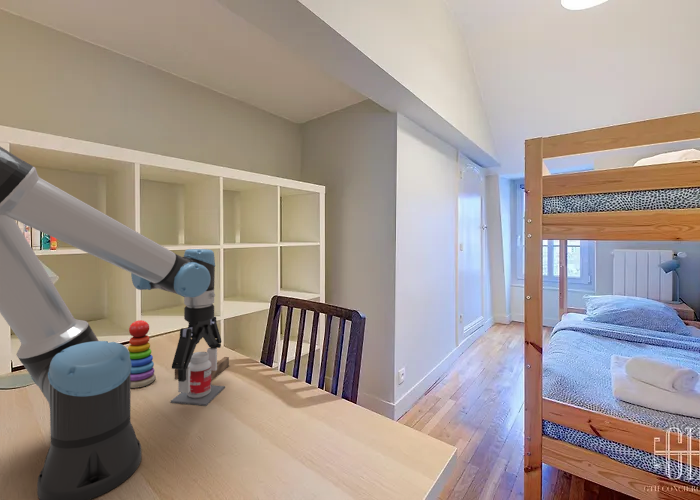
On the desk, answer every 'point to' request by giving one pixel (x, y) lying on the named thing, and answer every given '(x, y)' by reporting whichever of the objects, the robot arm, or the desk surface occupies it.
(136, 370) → the stacking toy
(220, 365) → the pair of wooden rails
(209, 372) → the pill bottle
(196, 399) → the coaster
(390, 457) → the desk surface
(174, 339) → the desk surface
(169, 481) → the desk surface
